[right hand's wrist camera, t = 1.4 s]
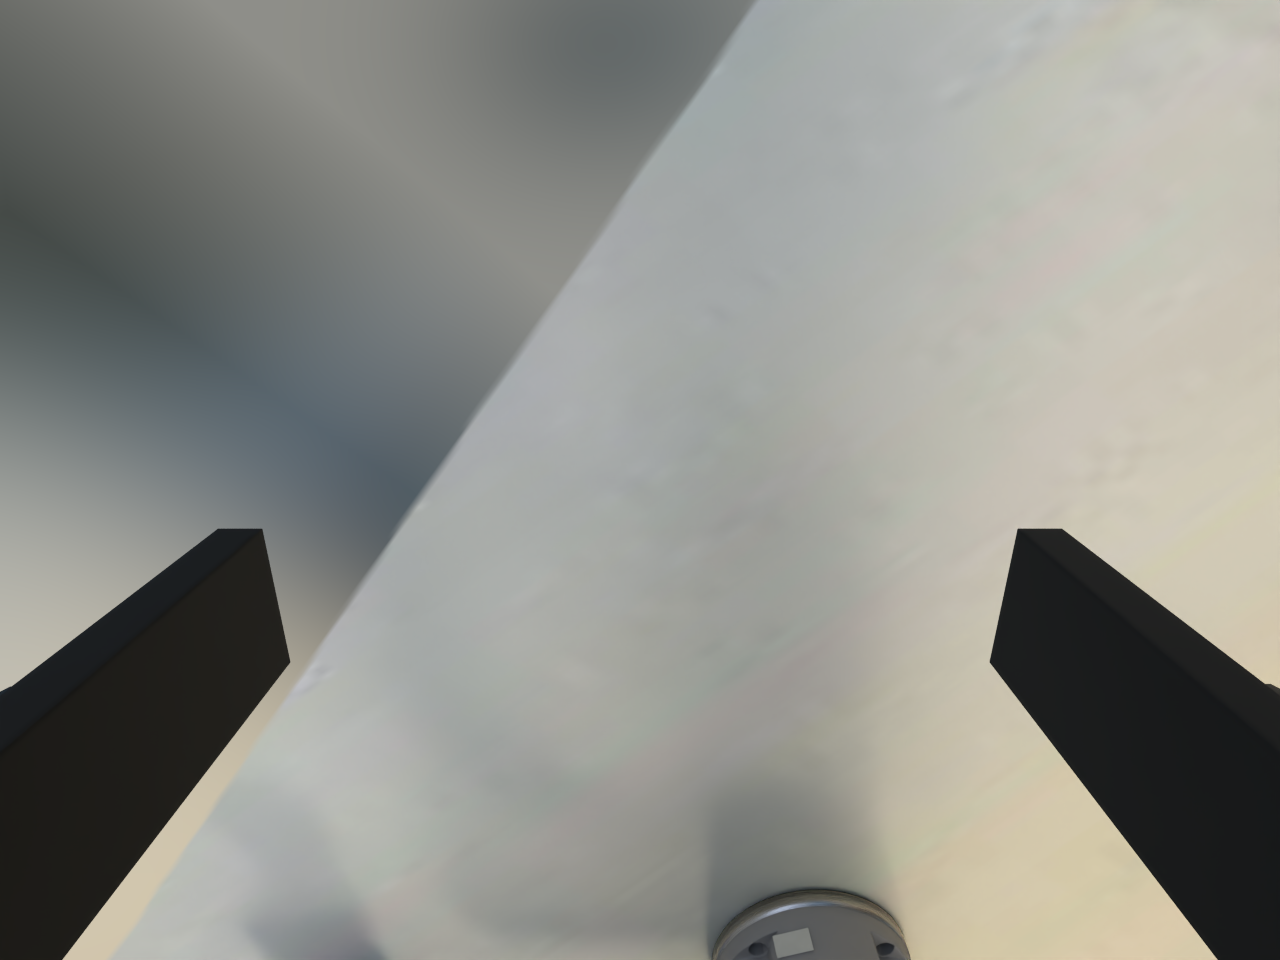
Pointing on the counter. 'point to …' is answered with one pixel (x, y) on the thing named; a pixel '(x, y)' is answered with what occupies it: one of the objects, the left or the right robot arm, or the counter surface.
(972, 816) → the counter surface
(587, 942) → the counter surface
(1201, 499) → the counter surface
